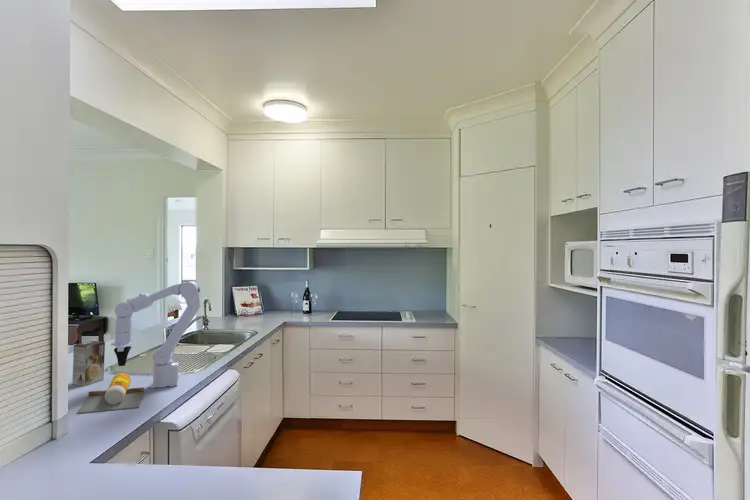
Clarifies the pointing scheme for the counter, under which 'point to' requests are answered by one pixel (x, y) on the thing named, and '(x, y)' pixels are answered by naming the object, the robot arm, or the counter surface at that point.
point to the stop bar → (97, 393)
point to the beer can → (117, 388)
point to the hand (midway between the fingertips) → (121, 365)
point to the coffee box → (88, 363)
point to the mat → (102, 405)
